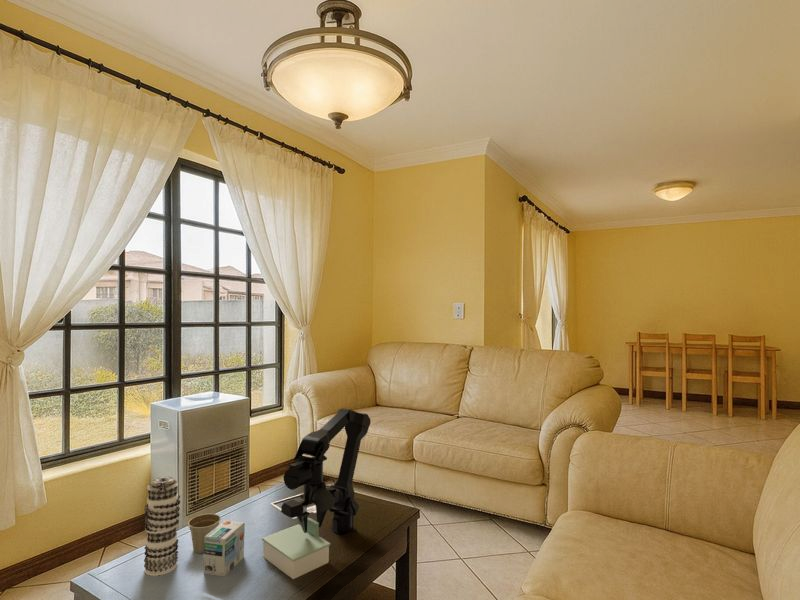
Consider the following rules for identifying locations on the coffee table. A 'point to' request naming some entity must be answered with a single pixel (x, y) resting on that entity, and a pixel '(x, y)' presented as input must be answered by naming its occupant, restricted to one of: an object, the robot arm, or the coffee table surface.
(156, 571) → the white patterned cylinder
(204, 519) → the flower pot
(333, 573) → the coffee table surface
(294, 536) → the lid
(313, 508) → the photo frame
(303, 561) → the tub
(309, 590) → the coffee table surface
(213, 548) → the light bulb box
